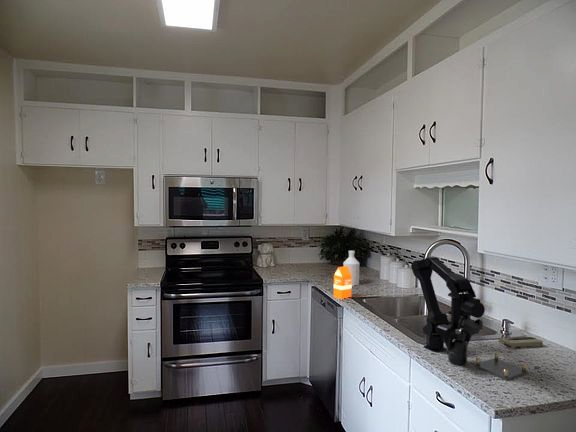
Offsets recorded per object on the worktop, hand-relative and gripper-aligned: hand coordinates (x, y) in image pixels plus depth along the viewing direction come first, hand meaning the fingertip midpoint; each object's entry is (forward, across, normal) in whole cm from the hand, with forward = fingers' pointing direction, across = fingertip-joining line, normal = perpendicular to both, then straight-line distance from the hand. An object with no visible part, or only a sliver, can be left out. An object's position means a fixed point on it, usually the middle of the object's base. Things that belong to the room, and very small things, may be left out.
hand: (457, 348), depth 152 cm
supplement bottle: (+6, 0, 0) cm, 6 cm away
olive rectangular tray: (+6, +41, 0) cm, 41 cm away
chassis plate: (+5, +9, -12) cm, 16 cm away
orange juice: (+6, +17, +101) cm, 103 cm away
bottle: (+6, +45, +129) cm, 137 cm away
